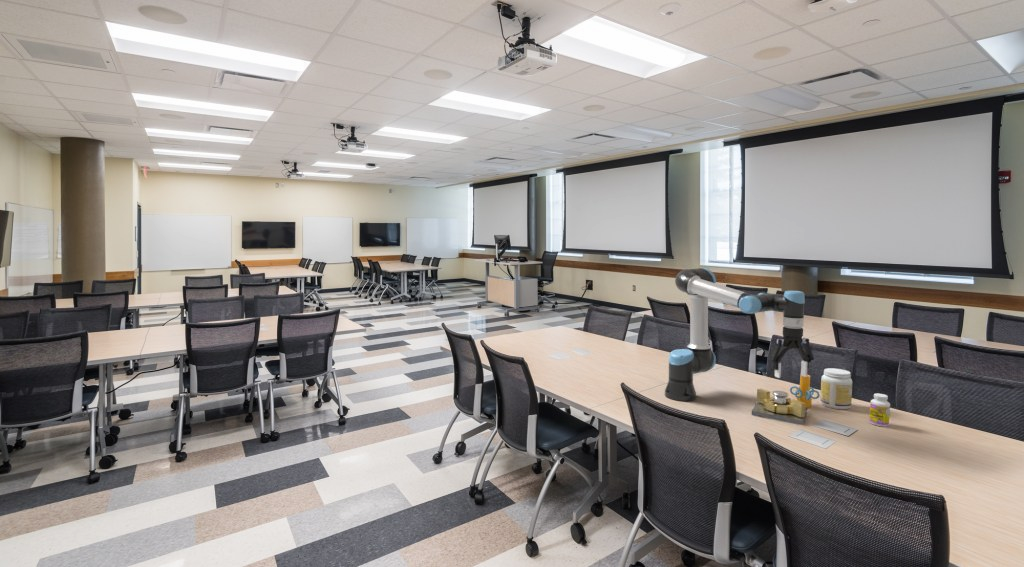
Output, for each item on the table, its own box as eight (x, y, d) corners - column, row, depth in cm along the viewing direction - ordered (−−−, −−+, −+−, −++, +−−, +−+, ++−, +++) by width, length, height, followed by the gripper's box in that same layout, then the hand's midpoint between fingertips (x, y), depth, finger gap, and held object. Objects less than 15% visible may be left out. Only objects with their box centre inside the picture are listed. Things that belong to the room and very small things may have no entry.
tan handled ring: (749, 402, 220) (749, 390, 219) (767, 399, 225) (768, 387, 224) (793, 419, 200) (793, 405, 199) (812, 414, 205) (813, 401, 204)
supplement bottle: (865, 422, 202) (867, 393, 200) (874, 420, 204) (876, 391, 203) (882, 428, 195) (884, 398, 194) (892, 425, 198) (894, 396, 197)
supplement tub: (852, 405, 222) (855, 370, 221) (848, 412, 214) (851, 376, 212) (822, 399, 231) (824, 366, 229) (817, 406, 222) (819, 371, 220)
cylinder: (821, 411, 215) (823, 379, 214) (796, 409, 217) (798, 378, 216) (810, 402, 227) (812, 372, 226) (787, 400, 229) (788, 371, 228)
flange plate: (751, 414, 211) (752, 394, 211) (758, 403, 226) (759, 383, 225) (803, 425, 199) (804, 403, 199) (807, 412, 214) (808, 391, 213)
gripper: (772, 329, 195) (770, 380, 197) (825, 327, 197) (822, 378, 199) (761, 326, 202) (759, 375, 204) (812, 324, 204) (810, 373, 206)
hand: (790, 376), depth 201 cm, fingers open, 11 cm apart
